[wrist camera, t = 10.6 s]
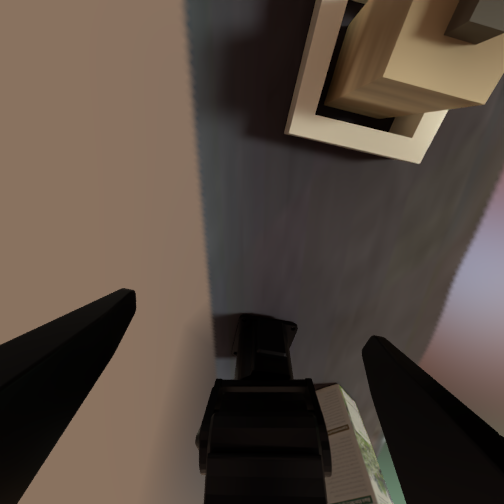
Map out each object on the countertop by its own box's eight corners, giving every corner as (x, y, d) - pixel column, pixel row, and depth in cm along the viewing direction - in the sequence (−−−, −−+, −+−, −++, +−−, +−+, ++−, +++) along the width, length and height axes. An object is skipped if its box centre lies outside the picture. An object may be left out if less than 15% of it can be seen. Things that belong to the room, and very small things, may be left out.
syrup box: (301, 395, 31) (330, 578, 18) (339, 381, 29) (401, 573, 16) (320, 413, 33) (359, 589, 20) (357, 401, 31) (425, 585, 18)
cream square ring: (393, 159, 16) (419, 163, 14) (283, 133, 16) (288, 133, 13) (468, 0, 12) (526, -37, 10) (325, -42, 12) (345, -93, 9)
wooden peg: (378, 119, 15) (512, 100, 7) (323, 105, 15) (398, 69, 7) (410, 43, 13) (639, -96, 5) (347, 25, 13) (490, -151, 5)
